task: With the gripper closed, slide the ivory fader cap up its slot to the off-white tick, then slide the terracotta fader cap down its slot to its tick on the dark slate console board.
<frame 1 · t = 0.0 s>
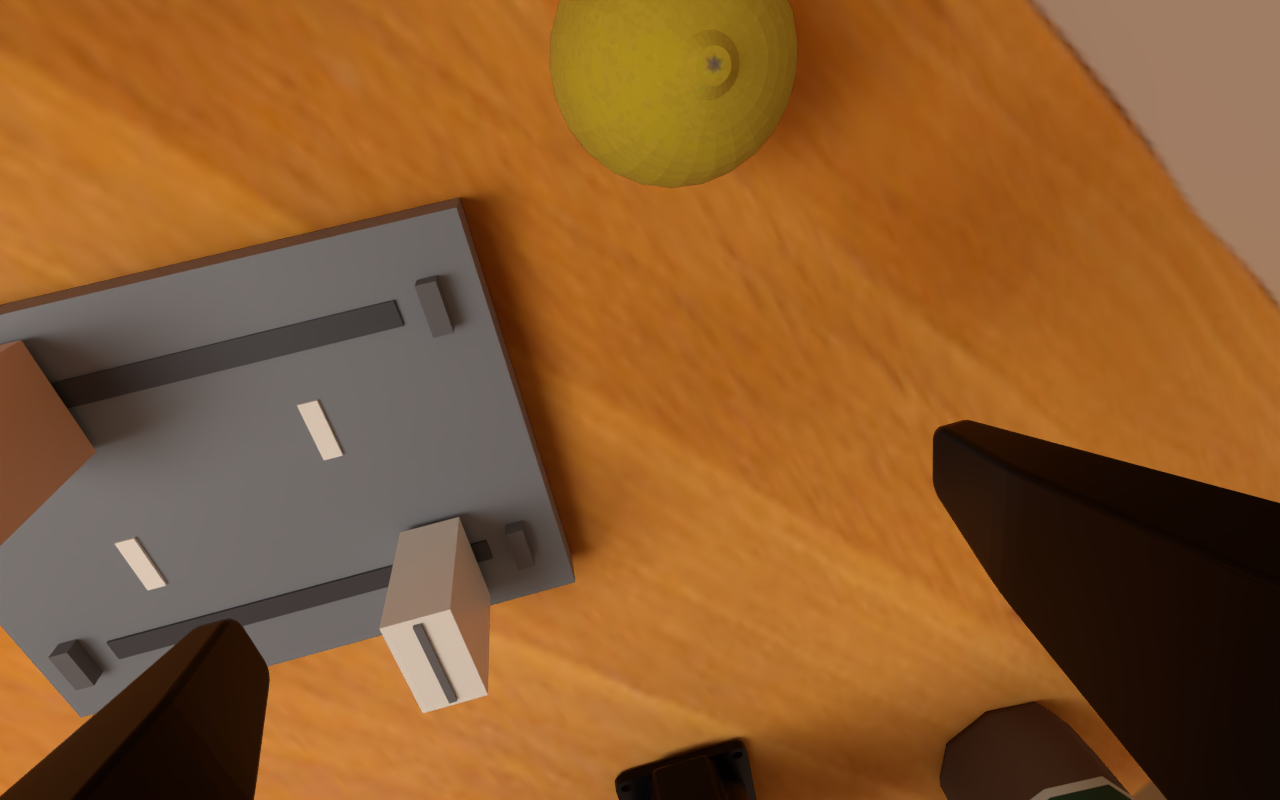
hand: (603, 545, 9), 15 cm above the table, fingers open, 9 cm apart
fader 2: (441, 611, 22), point 4 cm above the table, slide at 1.0 cm
console: (260, 468, 23), on the table
lemon: (637, 60, 20), on the table
beer bottle: (997, 745, 38), on the table
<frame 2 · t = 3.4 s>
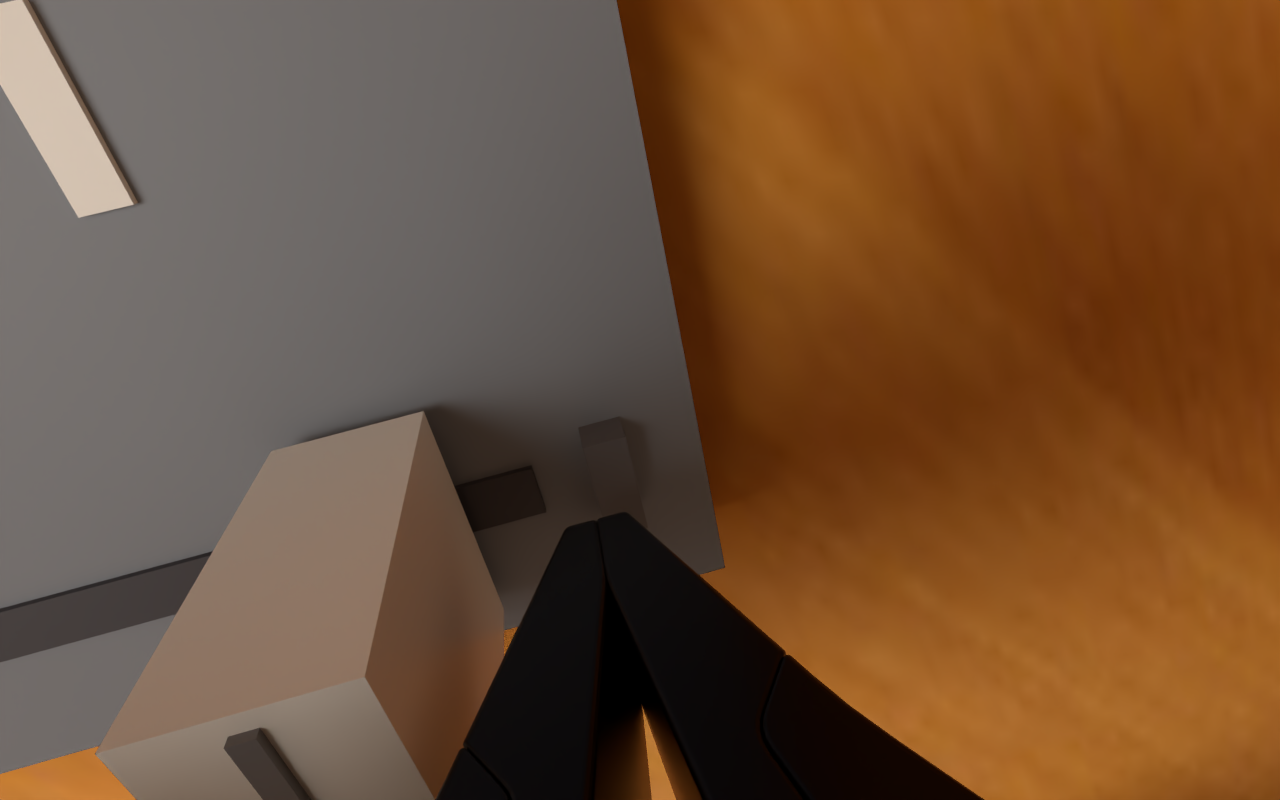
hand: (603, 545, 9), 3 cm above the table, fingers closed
fader 2: (371, 658, 8), point 4 cm above the table, slide at 1.6 cm, touching gripper
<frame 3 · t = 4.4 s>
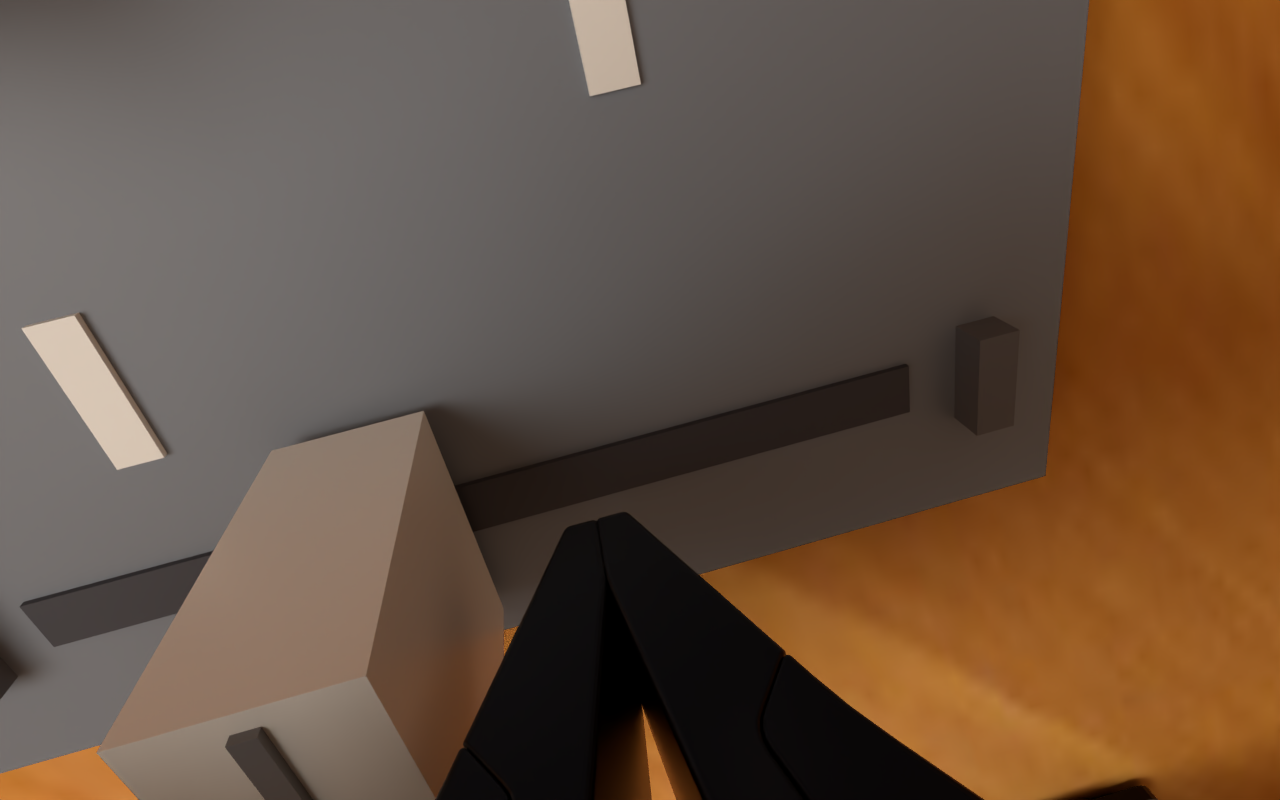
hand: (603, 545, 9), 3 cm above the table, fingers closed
fader 2: (372, 658, 8), point 4 cm above the table, slide at 7.4 cm, touching gripper
console: (393, 174, 9), on the table
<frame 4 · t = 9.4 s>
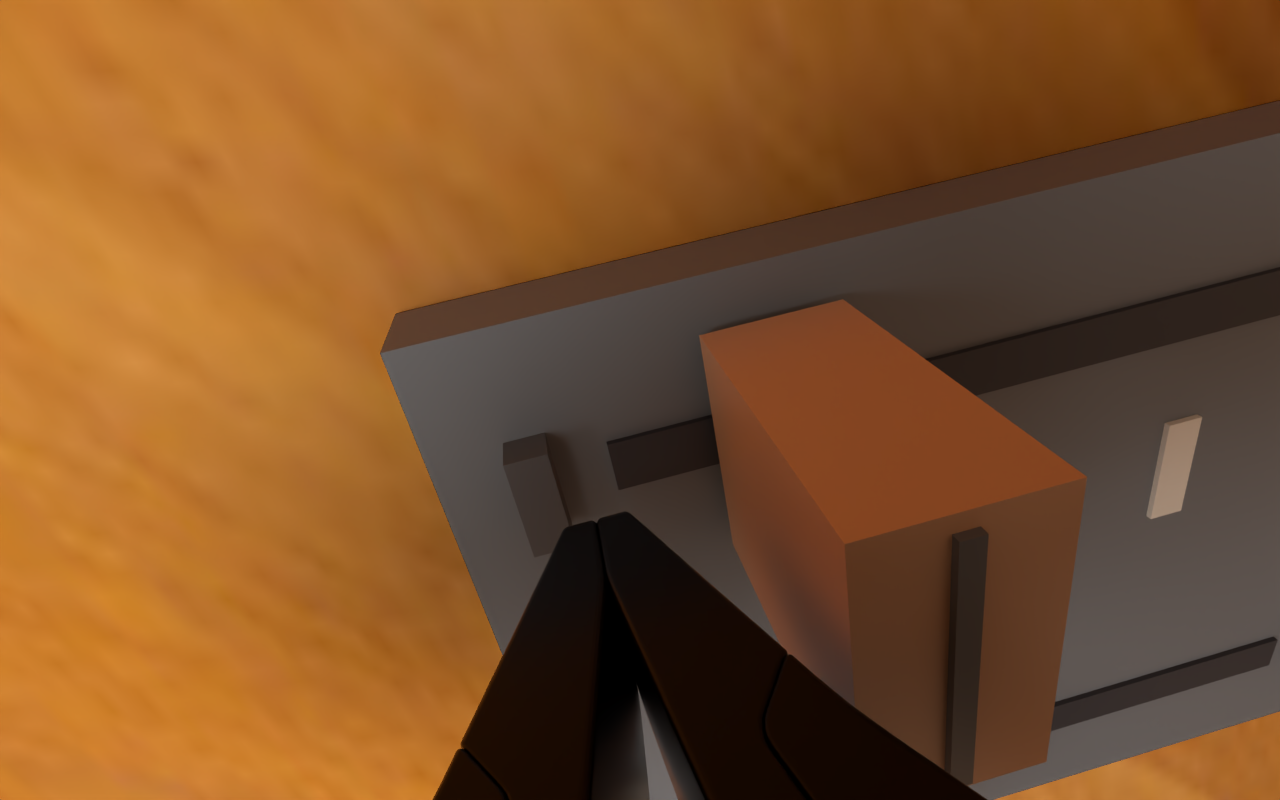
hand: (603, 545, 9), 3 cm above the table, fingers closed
console: (959, 526, 14), on the table
fader 1: (852, 524, 8), point 4 cm above the table, slide at 10.0 cm, touching gripper
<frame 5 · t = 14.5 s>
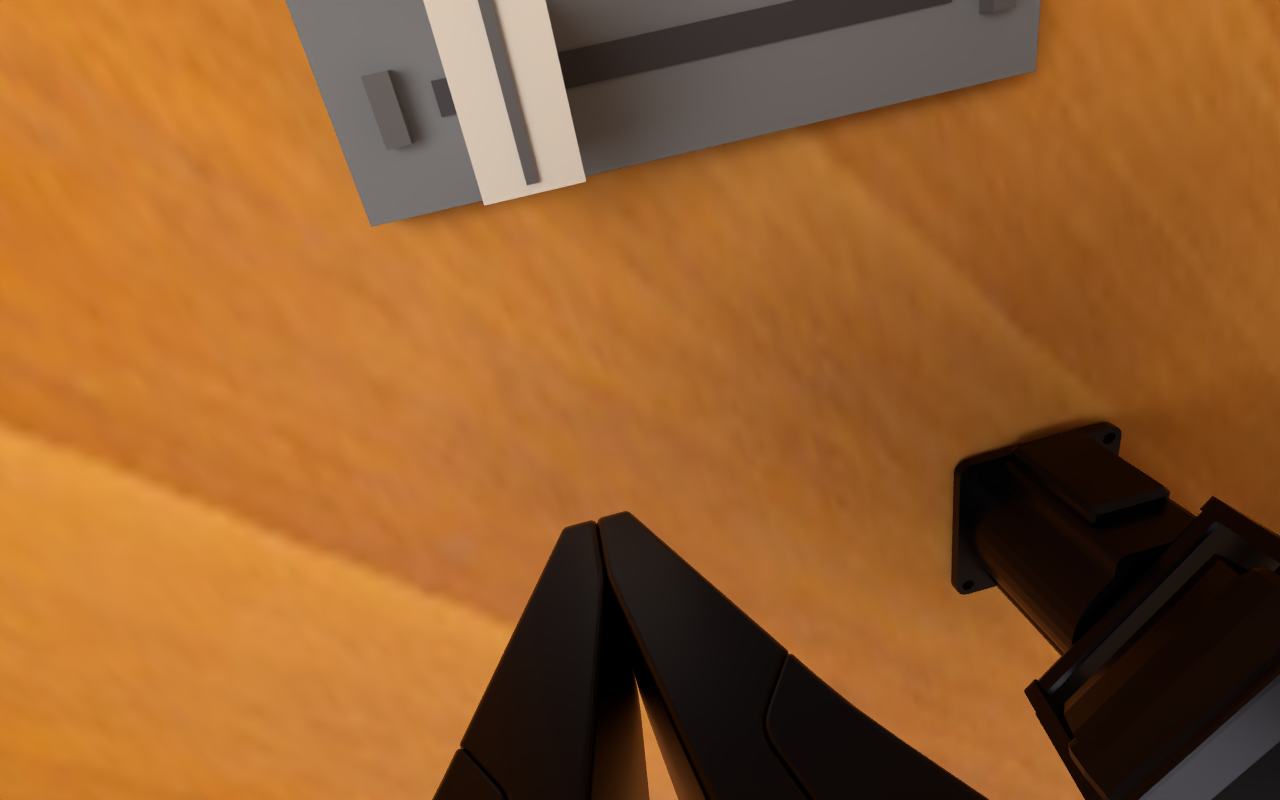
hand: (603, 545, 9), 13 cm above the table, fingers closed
fader 2: (508, 87, 14), point 4 cm above the table, slide at 10.8 cm
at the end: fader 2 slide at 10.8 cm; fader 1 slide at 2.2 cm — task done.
